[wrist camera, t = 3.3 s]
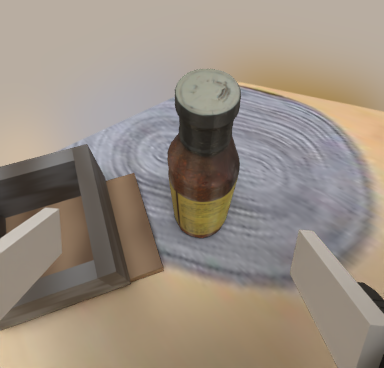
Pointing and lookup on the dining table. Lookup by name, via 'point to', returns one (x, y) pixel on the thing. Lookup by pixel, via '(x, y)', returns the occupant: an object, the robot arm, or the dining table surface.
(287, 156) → the dining table surface
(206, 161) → the sauce bottle
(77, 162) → the post socket
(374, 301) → the robot arm
